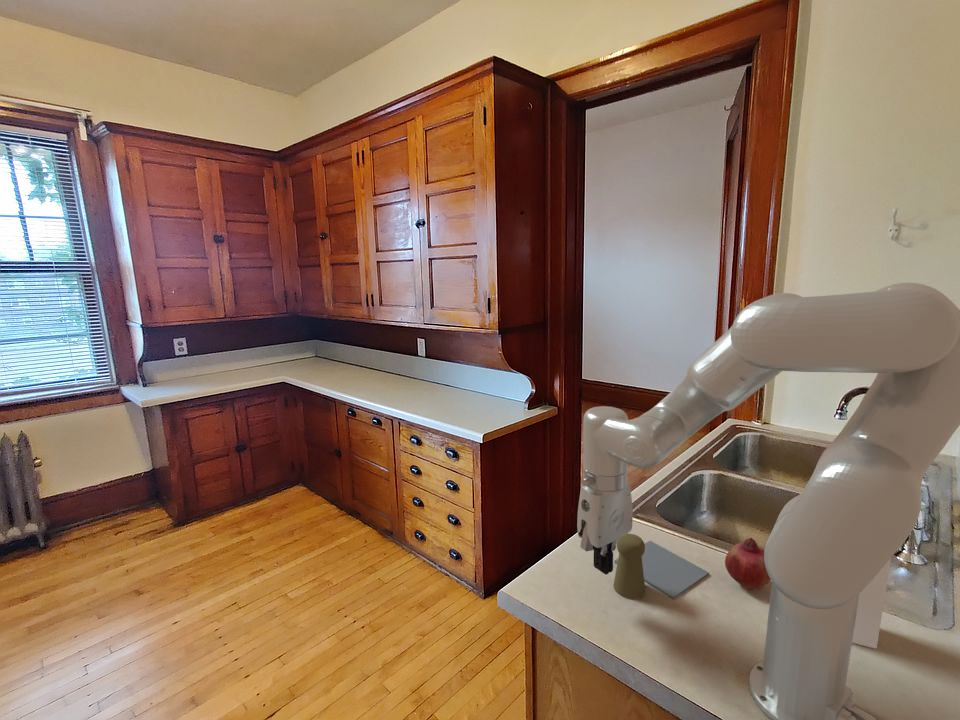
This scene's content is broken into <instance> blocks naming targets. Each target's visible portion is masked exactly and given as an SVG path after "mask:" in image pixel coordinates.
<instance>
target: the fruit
mask: <svg viewBox="0 0 960 720" xmlns="http://www.w3.org/2000/svg"><path fill="white" fill-rule="evenodd" d="M764 551H765V549H763V548H761V547H760V546H759V545H758V543H757V541H756V539H753V538H752V537H748V538H746V539H745V540H744V541H743V542H739V543H736V544H734V545H733V546H732V547H730V548H729V550H728V552H727V554H726V556H725V559H724V566H725V568H726V570H727V572H728V574H729V577H731V578H732V579H733V580H734V581H735V582H736V583H738V584H739V585H741V587H743V588H745V589H746V588H747V589H748V590H756V589H761V588H763V587H765V586H767V584H768V583H769V582H771V581H772V580H771V579H770V577H769V575H768V573H767V570H766V567H765V562H764Z"/></svg>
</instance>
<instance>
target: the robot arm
mask: <svg viewBox="0 0 960 720" xmlns="http://www.w3.org/2000/svg"><path fill="white" fill-rule="evenodd" d="M732 322H733V323H732V325H731V326H730V328H729V329H727V331H725V332H724V334H722V335H721V336H719V338H718V339H716V340H715V342H714V343H712V344H711V345H710V346H709V347H708V348H706V349H705V350H704V351H703V352H702V353H701V354H700V355H699V356H698V357H696V358H695V359H694V360H693V361H692V362H691V363H690V364H689V366H688V367H687V373H686V375H685V377H684V378H683V379H682V381H680V383H679V384H678V385H677V386H676V387H674V389H672V390H671V391H670V392H669V393H668V394H667V395H666V396H665V397H663V399H661V400H660V401H659V402H658V403H657V404H656V405H654V406H653V407H652V408H650V409H649V410H647V411H646V412H644V413H642V414H641V415H640V416H638V417H635V418H632V419H629V416H628V415H627V413H626V412H625V411H624V410H623V409H621V408H617V407H614V406H607V405H604V406H603V405H602V406H594V407H591V408H589V409H587V410H586V411H585V413H584V414H583V421H582V426H583V427H582V434H583V435H582V479H581V489H580V492H579V493H580V494H579V500H578V507H577V518H576V519H577V524H576V526H577V527H576V528H577V535H578V537H579V538H581V541H580V546H579V547H580V549H582V550H583V551H585V552H590V551H591V552H592V551H593V568H594V569H597V570H598V571H600V572H601V573H602V574H604V575H609V573H612V572H614V551H615V550H617V540H618V539H619V538H620V537H622V536H624V535H626V534H630V532H631V531H632V529H633V520H634V519H633V518H634V517H633V516H634V515H633V514H634V512H633V499H632V498H633V497H632V491H631V486H630V482H629V480H628V465H630V466H631V467H634V468H639V469H645V470H646V469H652V468H655V467H657V465H659V464H661V462H663V461H664V460H665V459H666V458H668V456H670V455H671V454H672V453H673V452H674V451H675V450H676V449H678V448H679V447H680V446H681V445H682V444H683V443H685V442H686V441H687V440H688V439H689V438H691V437H692V436H693V435H695V434H696V433H697V432H699V430H701V429H702V428H704V427H705V426H706V425H707V424H709V423H710V422H711V421H712V420H713V419H715V418H716V417H718V416H719V415H720V414H722V413H725V412H727V411H733V409H735V408H737V407H738V406H739V405H740V404H742V403H744V402H745V401H746V400H747V399H749V398H750V397H752V395H754V394H755V393H756V392H757V391H758V390H760V389H761V388H762V387H764V386H765V385H766V384H768V383H769V382H770V381H771V380H773V379H774V378H776V377H777V376H778V375H780V374H781V373H782V372H798V373H799V372H801V373H850V374H851V373H853V374H854V373H857V374H860V373H861V374H865V373H866V374H877V375H876V376H875V377H874V380H873V382H872V383H871V385H870V386H869V388H868V390H867V391H866V392H865V395H864V396H863V397H862V400H861V401H860V403H859V404H858V406H857V408H856V409H855V411H854V412H853V413H852V415H851V417H850V418H849V419H848V421H847V422H846V424H845V425H844V427H843V428H842V429H841V431H840V432H839V433H838V434H837V436H836V437H835V438H834V439H833V441H832V442H831V443H830V444H829V445H828V446H827V447H826V448H825V449H824V450H823V452H822V453H821V455H820V457H819V459H818V461H817V464H816V466H815V467H814V471H813V473H812V475H811V476H810V478H809V479H808V481H807V484H805V487H803V490H801V492H800V494H798V495H797V496H795V497H793V498H792V499H790V500H789V501H788V502H787V503H786V504H785V505H784V506H783V508H782V510H781V511H780V512H779V514H778V517H777V519H776V520H775V523H774V525H773V527H772V528H773V529H772V530H771V532H770V535H769V536H768V539H767V542H766V544H765V546H764V547H765V548H764V562H765V567H766V570H767V573H768V575H769V577H770V579H771V580H770V581H771V587H770V596H769V606H768V607H769V608H768V615H767V625H766V626H767V627H766V633H765V634H766V635H765V644H764V645H765V646H764V655H763V660H762V661H759V662H757V663H756V664H755V665H754V666H753V667H752V668H751V671H750V672H749V680H748V683H749V690H750V693H751V696H752V697H753V699H754V701H755V703H756V704H757V705H758V706H759V708H760V709H761V710H762V711H763V712H764V713H765V715H766V716H767V717H768V718H769V719H771V720H877V718H876V717H874V716H873V715H871V714H870V713H868V712H867V711H864V710H862V709H860V708H858V707H857V706H856V703H854V702H853V701H852V698H853V692H854V691H853V689H852V688H850V687H848V686H847V680H848V671H849V664H850V658H851V651H852V644H853V643H852V639H853V632H854V626H855V621H856V614H857V607H858V600H859V593H860V592H861V591H862V590H863V589H864V588H865V587H866V586H867V585H868V584H869V582H870V581H871V580H872V579H873V578H874V577H875V576H876V574H877V573H878V572H879V571H880V570H881V569H882V567H883V566H884V565H885V564H886V563H887V562H888V560H889V559H890V558H891V559H892V557H893V556H894V555H895V553H896V552H897V551H898V550H899V549H900V547H902V545H903V544H904V543H905V541H906V540H907V539H908V538H909V536H910V534H911V533H912V532H913V529H914V528H915V525H916V524H917V522H918V520H919V517H920V515H921V514H920V513H921V509H922V508H921V507H922V483H923V478H924V476H925V474H926V473H927V471H928V469H929V468H930V466H931V465H932V464H933V463H934V461H935V460H936V458H937V457H938V456H939V454H940V453H941V452H942V451H943V449H944V448H945V446H946V445H947V443H948V442H949V441H950V439H951V438H952V436H953V435H954V433H955V432H956V431H957V429H958V428H959V427H960V308H959V307H957V305H956V304H955V303H954V302H953V301H952V300H951V299H950V298H949V297H948V296H946V295H945V294H944V293H942V292H941V291H940V290H938V289H937V288H934V287H932V286H929V285H926V284H923V283H919V282H918V283H917V282H901V283H894V284H893V283H892V284H891V285H887V286H884V287H881V288H880V289H877V290H876V291H867V292H866V291H864V292H856V293H855V292H854V293H843V294H841V293H840V294H831V295H830V294H829V295H815V296H801V295H799V294H796V293H790V292H779V293H774V294H770V295H767V296H765V297H763V298H759V299H757V300H754V301H753V302H750V304H748V305H747V306H745V307H744V308H742V309H741V311H739V312H738V314H737V316H735V318H734V320H733V321H732Z"/></svg>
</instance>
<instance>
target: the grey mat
mask: <svg viewBox="0 0 960 720" xmlns="http://www.w3.org/2000/svg"><path fill="white" fill-rule="evenodd" d="M644 545H645V551H644V554H643V556H642V564H643V573H644V582H645V584H647V585H649V586H651V587H653V588H654V589H655V590H656V591H659V592H660V593H661V594H664V596H666V597H668V598H670V599H671V600H675V599H676V598H678V597H680V596H681V595H682V594H683V593H685V592H686V591H688V590H689V589H690V588H692V587H694V586H696V584H698V583H700V582H701V581H702V580H704V579H705V578H707V577H709V575H710V572H709V571H707V570H705V569H704V568H702V567H700V566H697V565H696V564H695V563H692V562H690V561H688V560H687V559H685V558H683V557H681V556H679V555H677V554H675V553H674V552H672V551H670V550H668V549H667V548H664V547H663V546H661V545H659V544H657V543H655V542H653V541H651V540H649V541H647V542H644ZM617 563H618V558H616V559H615V560H614V564H616V565H617Z"/></svg>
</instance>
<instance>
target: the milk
mask: <svg viewBox="0 0 960 720" xmlns="http://www.w3.org/2000/svg"><path fill="white" fill-rule="evenodd" d="M891 559H892V557H891V558H890V559H889V560H888V562H887V563H886V564H885V565H884V566H883V567H882V569H881V570H880V571H879V572H878V573H877V574H876V576H875V577H874V578H873V579H872V580H871V581H870V582H869V584H868V585H867V586H866V587H865V588H864V589H863V590H862V591H861V592H860V593H859V600H858V607H857V614H856V621H855V626H854V632H853V639H852V644H856V645H860V646H862V647H863V646H864V647H867V648H870V649H875V650H877V648H878V642H879V636H880V635H879V634H880V631H881V630H880V629H881V625H882V617H883V611H884V604H885V598H886V592H887V585H888V579H889V574H890V573H889V572H890V565H891Z"/></svg>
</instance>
